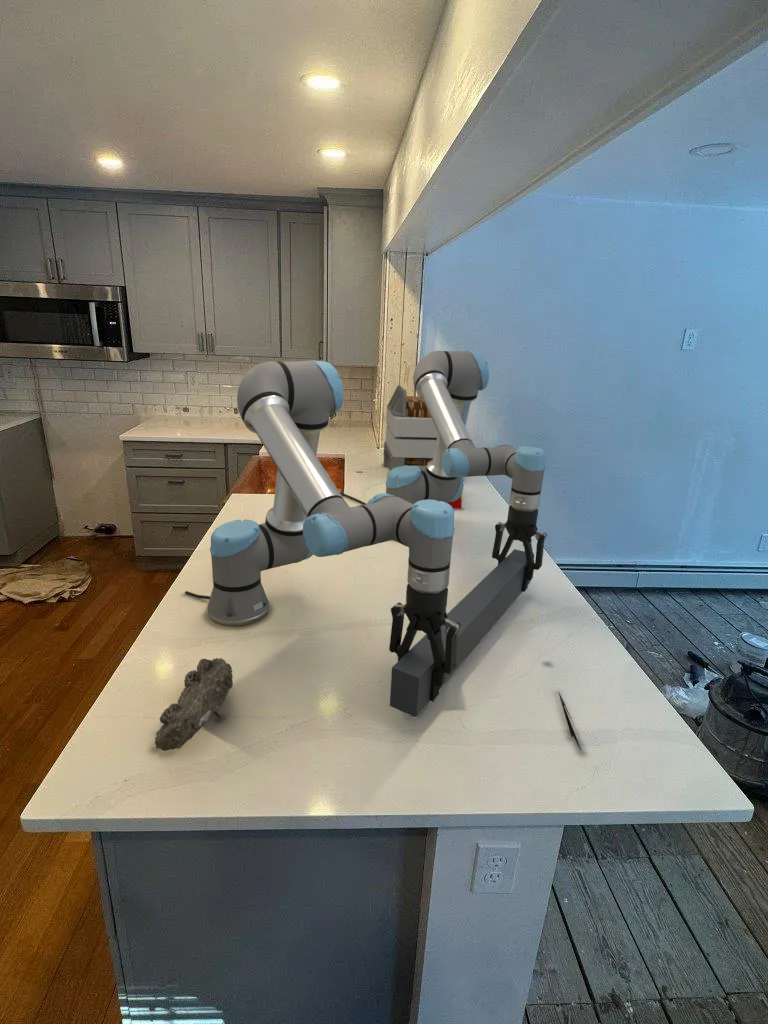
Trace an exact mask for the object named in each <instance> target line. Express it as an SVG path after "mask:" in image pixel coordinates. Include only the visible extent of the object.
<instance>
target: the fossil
mask: <svg viewBox="0 0 768 1024" xmlns="http://www.w3.org/2000/svg"><path fill="white" fill-rule="evenodd" d="M183 682H184V689H182V692H180V695H179V697H178V699H177V703H170V705H169V706H168V707H166V708H165V709H164V710H163V712H162V713H161V714H160V716H159V721H160V723H161V724H162V725H161V726H160V728H159V730H157V731H156V733H155V737H154V744H155V748H156V749H160V750H161V751H162V752H167V751H173V750H180V749H182V747H184V746H185V744H186V743H188V741H190V740H191V739H192V738H193V737H194V736H195V735H196V734H197V733H198V732H199V731H200V730H201V729H202V728H203V727H205V725H206V724H207V722H208V720H209V719H210V718H212V716H213V715H215V716H216V717H217V718H218V719H221V717H222V715H221V714H220V713H219V712H218V711H217V708H218V707H221V706H222V705H223V704H224V703H225V701H226V698H227V696H228V694H229V693H230V690H231V689H232V688H233V686H234V682H233V668H232V666H231V665H230V664H229V663H227V661H226V660H224V659H223V658H221V657H220V658H217V657H215V658H213V659H207V658H201V659H199V661H198V664H197V665H196V669H194V670H190V671H187V673H186V674H185V676H184V680H183Z"/></svg>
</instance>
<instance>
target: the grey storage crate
mask: <svg viewBox="0 0 768 1024" xmlns="http://www.w3.org/2000/svg"><path fill="white" fill-rule="evenodd" d="M407 394H408V393H407V390H406V389H404V388H403V387H402V385H399V384H398V385H397V386H396V388H395V390H394V392H393V394H392V395H391V398H390V400H389V402H388V404H387V405H386V413H385V414H386V415H385V423H386V428H385V438H384V442H383V466H384V467H388V468H389V471H390V470H392V469H393V468H396V467H400V466H416V467H427V464H428V462H429V461H431V460H433V455H434V450H435V445H436V439H437V434H438V432H437V429H436V427H435V425H434V423H433V420H432V418H431V416H430V413H429V411H428V409H427V406H426V404H425V402H424V400H423V399H422V398H420V397H419V396H418V395H417V396H415V395H414V396H413V395H412V396H411V395H407Z"/></svg>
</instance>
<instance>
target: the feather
mask: <svg viewBox="0 0 768 1024" xmlns="http://www.w3.org/2000/svg"><path fill="white" fill-rule="evenodd" d="M546 664H549V662H547V663H546ZM558 695H559V699H560V703H561V706H562V710H563V713H564V717H565V721H566V723H567V727H568V730H569V735H570V737H571V738H573V739H574V740H575V742H576V744H577V746H578V748H579V749H580V751H582V748H581V745H580V743H579V740H578V738H577V736H576V733H575V731H577V729H576V725H573V724H572V722H574V721H573V718H572V716H571V714H570V712H569V710H568V707H567V705H566V704H565V701H564V699H563V698H562V695H561V693H560V691H559V690H558ZM573 727H574V728H573ZM578 733H579V731H577V735H578V737H580V733H579V734H578Z"/></svg>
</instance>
